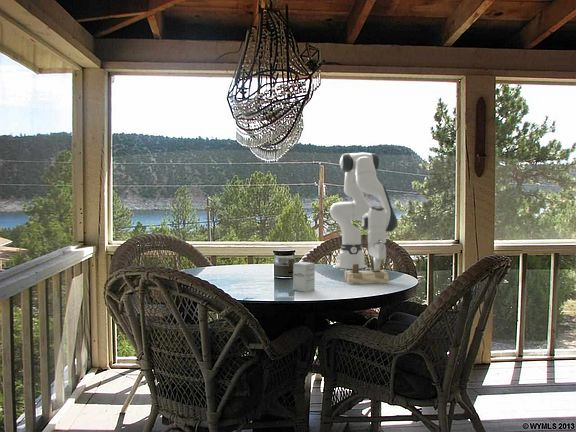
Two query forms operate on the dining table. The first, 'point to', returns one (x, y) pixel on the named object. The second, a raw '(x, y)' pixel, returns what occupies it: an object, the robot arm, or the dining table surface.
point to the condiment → (373, 264)
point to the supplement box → (303, 276)
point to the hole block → (366, 277)
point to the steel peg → (376, 269)
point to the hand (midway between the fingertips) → (377, 266)
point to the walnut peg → (355, 268)
